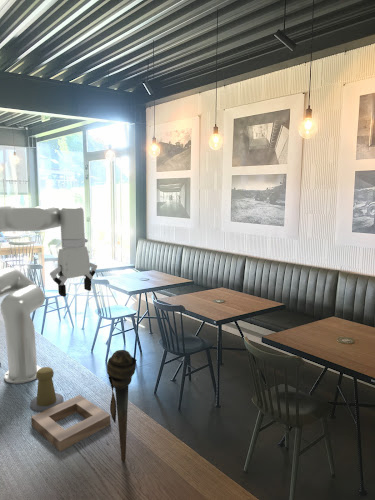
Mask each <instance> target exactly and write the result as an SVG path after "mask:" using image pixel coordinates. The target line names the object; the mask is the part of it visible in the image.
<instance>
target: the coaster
mask: <svg viewBox="0 0 375 500" xmlns="http://www.w3.org/2000/svg"><path fill="white" fill-rule="evenodd" d="M55 394H56V402H55V403H54V404H52V405H49V406H38V405H37V396H35V397H33V399H32V400H30V403H29V406H30V409H31V410H32V411H34V412H38V413H40V412H43V411H45V410H47V409H49V408H52V407H54V406H56V405H58V404H60V403H63V402H64V396H63V395H62V394H61V393H58V392H57V393H56V392H55Z"/></svg>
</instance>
